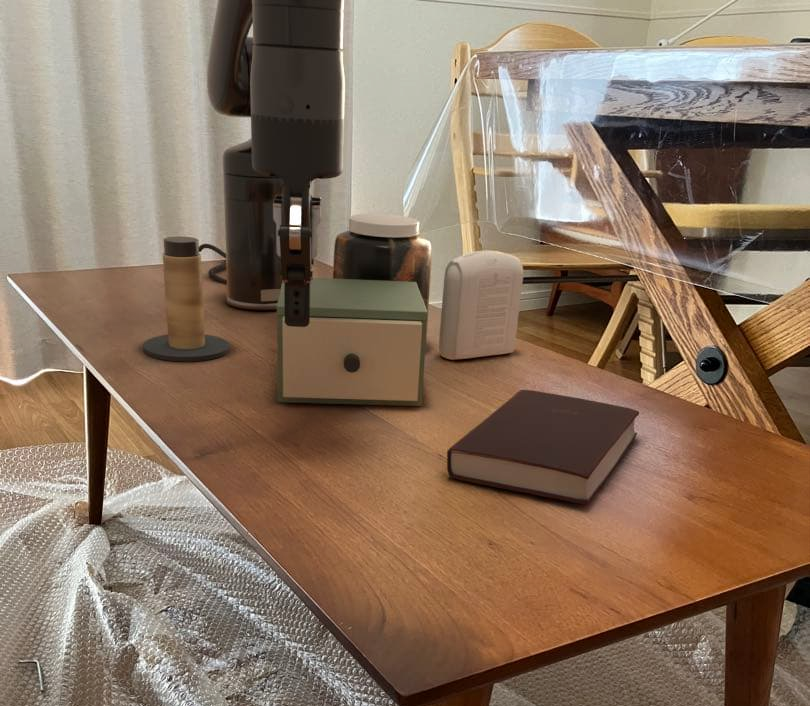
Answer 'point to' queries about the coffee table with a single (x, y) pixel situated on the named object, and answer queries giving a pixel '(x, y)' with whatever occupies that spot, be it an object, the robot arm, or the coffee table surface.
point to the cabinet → (359, 303)
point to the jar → (384, 251)
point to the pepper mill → (183, 293)
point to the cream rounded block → (480, 305)
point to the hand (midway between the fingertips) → (297, 324)
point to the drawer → (352, 359)
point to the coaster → (163, 351)
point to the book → (545, 446)
